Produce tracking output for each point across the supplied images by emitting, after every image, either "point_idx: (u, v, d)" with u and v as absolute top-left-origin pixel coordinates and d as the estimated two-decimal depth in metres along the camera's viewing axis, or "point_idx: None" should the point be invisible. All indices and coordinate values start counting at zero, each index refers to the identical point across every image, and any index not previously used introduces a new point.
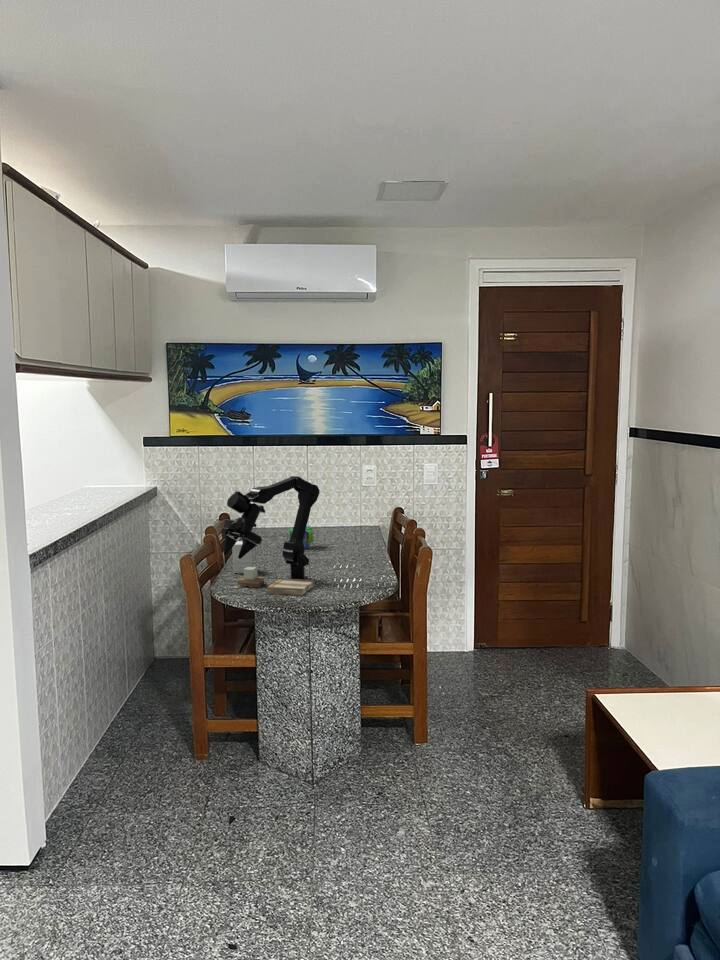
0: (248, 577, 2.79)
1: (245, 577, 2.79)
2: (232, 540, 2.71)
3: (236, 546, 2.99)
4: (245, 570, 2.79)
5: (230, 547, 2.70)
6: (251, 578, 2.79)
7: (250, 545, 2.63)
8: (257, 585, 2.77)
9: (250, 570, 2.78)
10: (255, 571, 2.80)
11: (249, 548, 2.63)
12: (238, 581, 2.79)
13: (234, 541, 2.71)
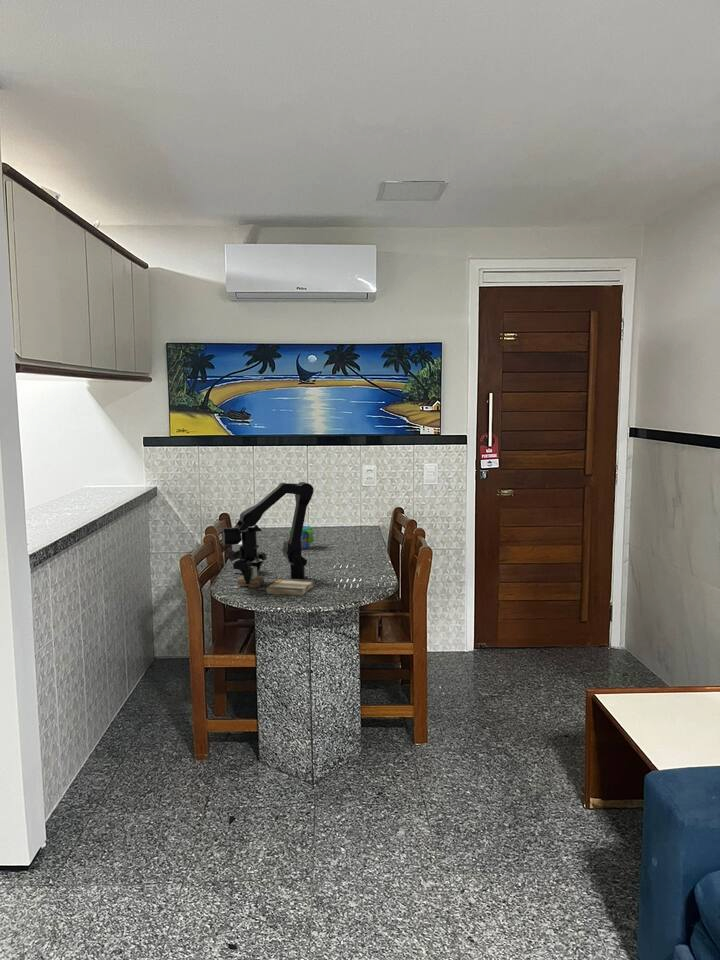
0: None
1: None
2: (255, 564, 2.83)
3: (236, 546, 2.99)
4: None
5: None
6: (252, 577, 2.79)
7: (248, 570, 2.76)
8: (257, 584, 2.77)
9: None
10: (255, 570, 2.81)
11: (248, 573, 2.76)
12: (238, 580, 2.79)
13: (258, 564, 2.83)
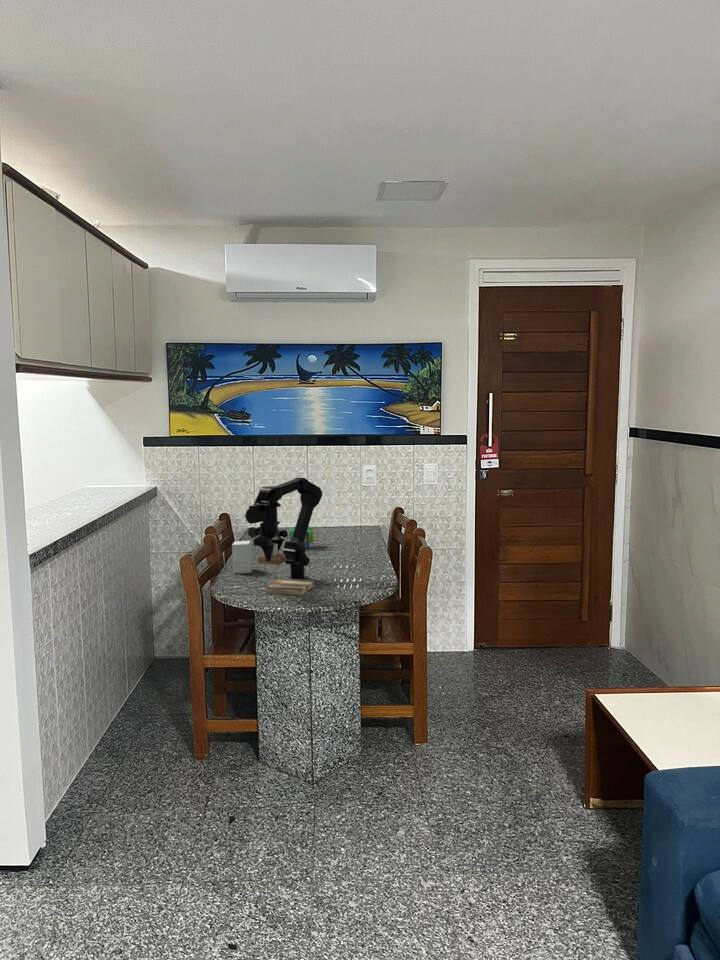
0: None
1: None
2: (276, 541, 2.78)
3: (236, 546, 2.99)
4: None
5: None
6: (272, 555, 2.73)
7: (268, 547, 2.70)
8: (278, 562, 2.72)
9: None
10: (276, 547, 2.75)
11: (269, 550, 2.70)
12: (258, 558, 2.74)
13: (279, 541, 2.77)
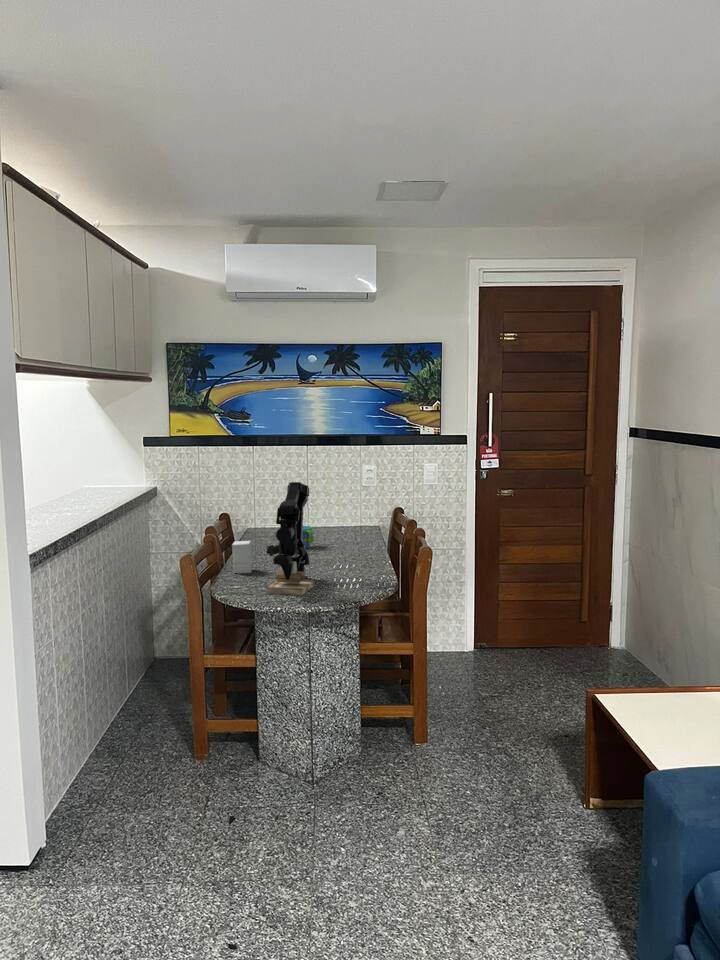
0: None
1: None
2: (295, 559, 2.75)
3: (236, 546, 2.99)
4: None
5: None
6: (292, 573, 2.70)
7: (288, 565, 2.67)
8: (297, 580, 2.69)
9: None
10: (295, 565, 2.72)
11: (288, 568, 2.68)
12: (277, 576, 2.71)
13: (297, 559, 2.75)
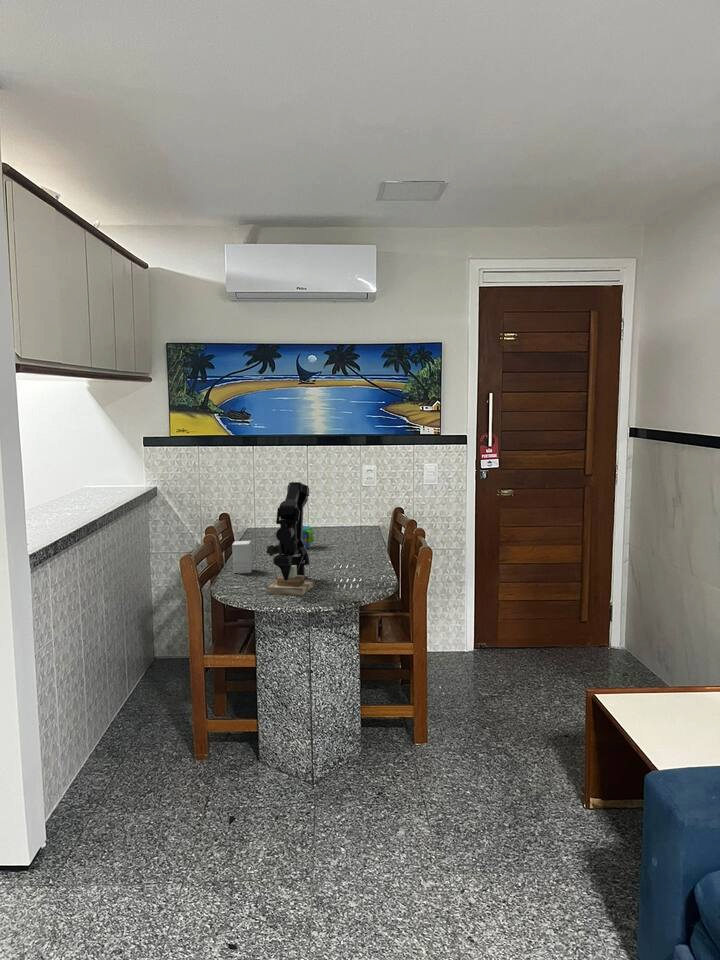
0: None
1: None
2: (296, 558, 2.77)
3: (236, 546, 2.99)
4: None
5: (297, 565, 2.77)
6: (292, 576, 2.70)
7: (286, 566, 2.66)
8: (297, 584, 2.69)
9: (291, 568, 2.70)
10: (295, 569, 2.72)
11: (287, 569, 2.66)
12: (277, 580, 2.71)
13: (299, 558, 2.76)
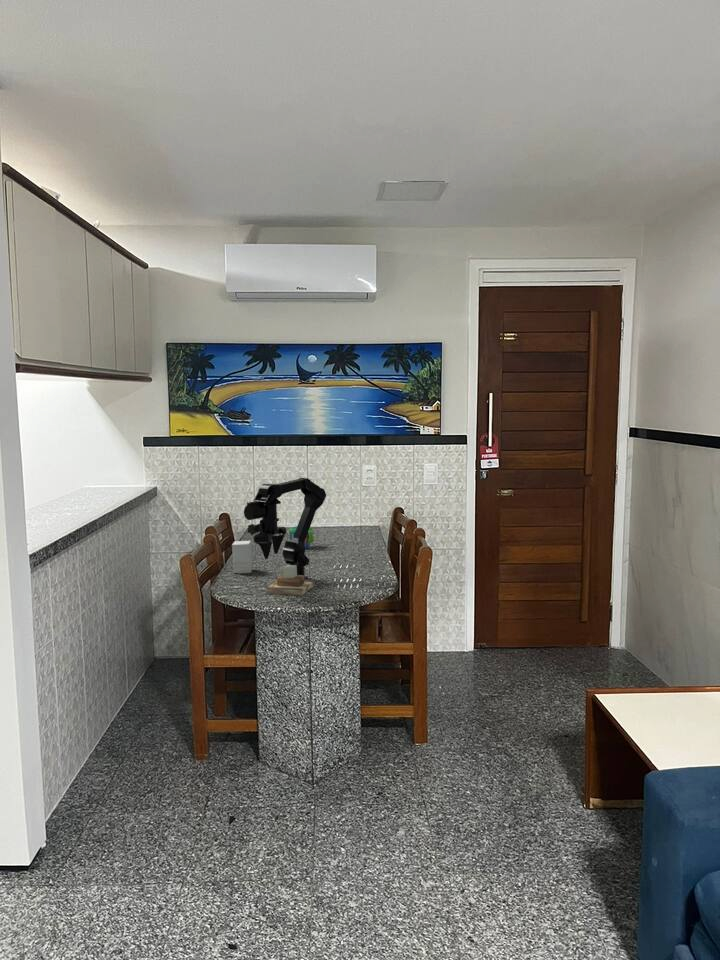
0: (288, 575, 2.71)
1: (285, 575, 2.71)
2: (277, 537, 2.81)
3: (236, 546, 2.99)
4: (285, 568, 2.71)
5: (278, 544, 2.81)
6: (292, 576, 2.70)
7: (267, 544, 2.70)
8: (297, 584, 2.69)
9: (291, 568, 2.70)
10: (295, 569, 2.72)
11: (267, 547, 2.71)
12: (277, 580, 2.71)
13: (280, 537, 2.81)
